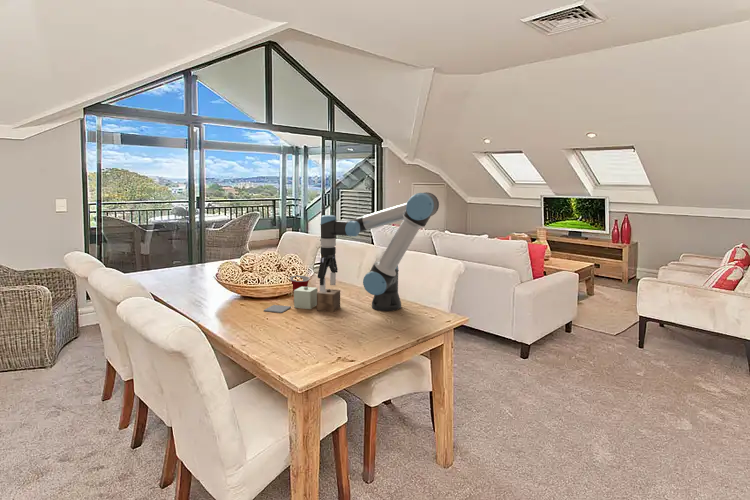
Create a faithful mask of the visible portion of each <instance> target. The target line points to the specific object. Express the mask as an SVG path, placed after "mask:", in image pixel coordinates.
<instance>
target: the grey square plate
mask: <svg viewBox="0 0 750 500" xmlns="http://www.w3.org/2000/svg"><path fill="white" fill-rule="evenodd" d="M291 308H292V306H291V305H290V306H289V305H279V304H278V305H277V304H272V305H271V306H269V307H267V308H265V309H263V312H268V313H269V312H270V313H277V314H278V313H279V314H282V313H284V312H286V311H287V310H290V309H291Z"/></svg>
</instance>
